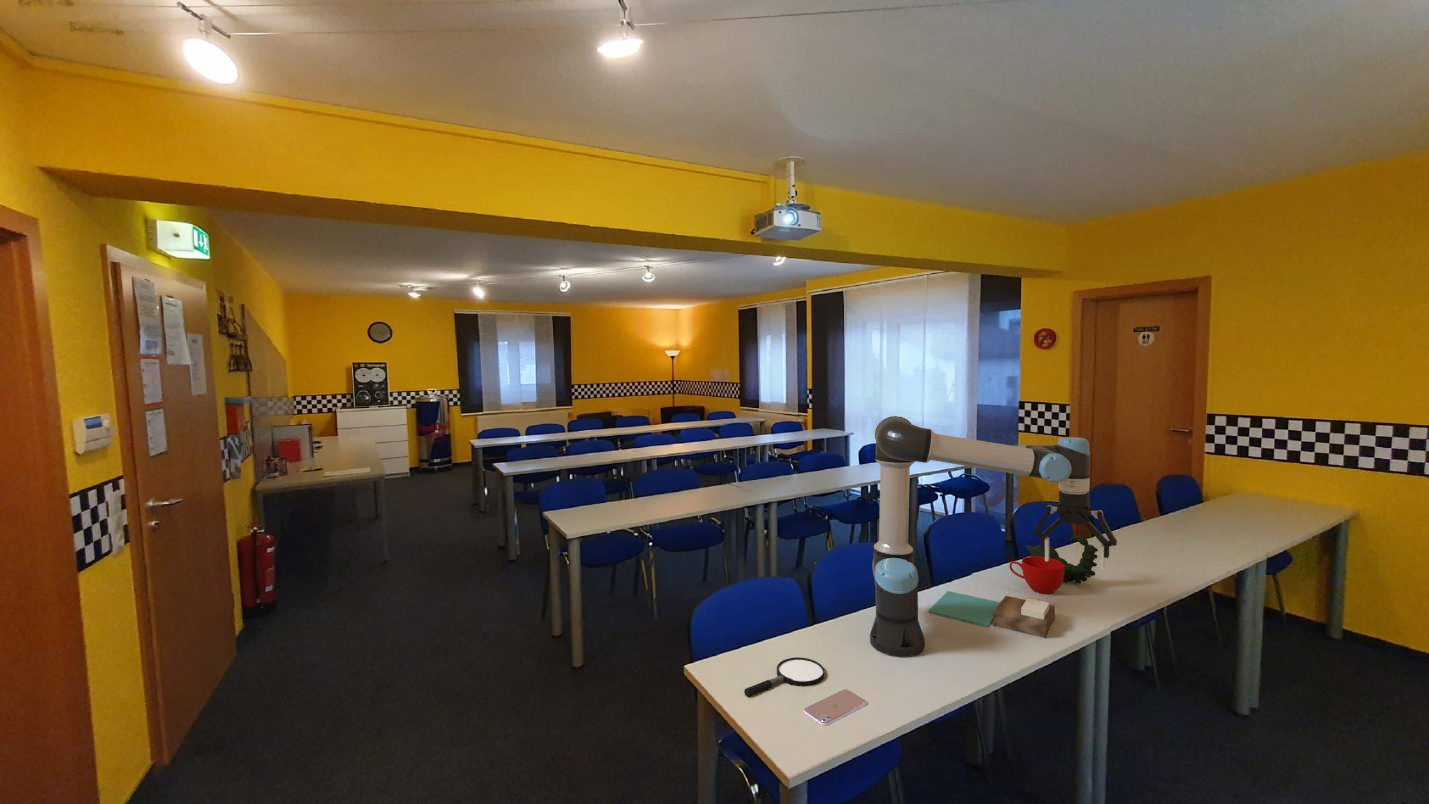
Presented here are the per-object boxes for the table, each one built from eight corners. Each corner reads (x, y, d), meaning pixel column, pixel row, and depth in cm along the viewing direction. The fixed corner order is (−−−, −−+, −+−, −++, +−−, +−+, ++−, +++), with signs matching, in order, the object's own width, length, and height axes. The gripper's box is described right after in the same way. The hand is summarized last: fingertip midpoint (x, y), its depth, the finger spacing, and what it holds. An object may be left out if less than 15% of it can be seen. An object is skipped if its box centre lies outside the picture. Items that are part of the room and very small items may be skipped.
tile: (1021, 614, 172) (1021, 608, 172) (1027, 604, 179) (1027, 598, 179) (1043, 619, 169) (1043, 612, 168) (1049, 609, 176) (1049, 602, 175)
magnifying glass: (732, 686, 147) (732, 678, 146) (802, 659, 160) (802, 651, 160) (762, 709, 136) (761, 701, 136) (834, 678, 149) (834, 670, 149)
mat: (928, 612, 185) (928, 610, 185) (947, 592, 200) (947, 590, 200) (987, 627, 173) (987, 625, 173) (1003, 604, 189) (1003, 603, 189)
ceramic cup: (1012, 579, 211) (1012, 552, 210) (1065, 588, 201) (1066, 560, 200) (1006, 590, 200) (1006, 563, 200) (1062, 601, 190) (1063, 571, 190)
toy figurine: (1098, 589, 203) (1030, 563, 224) (1104, 538, 200) (1034, 517, 222) (1083, 595, 198) (1015, 568, 220) (1089, 543, 195) (1019, 521, 217)
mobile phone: (869, 701, 137) (823, 724, 128) (869, 705, 137) (824, 728, 128) (845, 687, 143) (800, 708, 135) (845, 690, 143) (801, 712, 135)
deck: (993, 625, 174) (993, 612, 174) (1005, 607, 187) (1005, 595, 186) (1045, 638, 166) (1045, 624, 165) (1054, 618, 178) (1054, 605, 178)
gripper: (1022, 489, 169) (1023, 560, 170) (1126, 498, 153) (1126, 576, 154) (1027, 484, 174) (1027, 553, 176) (1128, 493, 159) (1127, 568, 160)
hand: (1074, 564), depth 165 cm, fingers open, 13 cm apart
